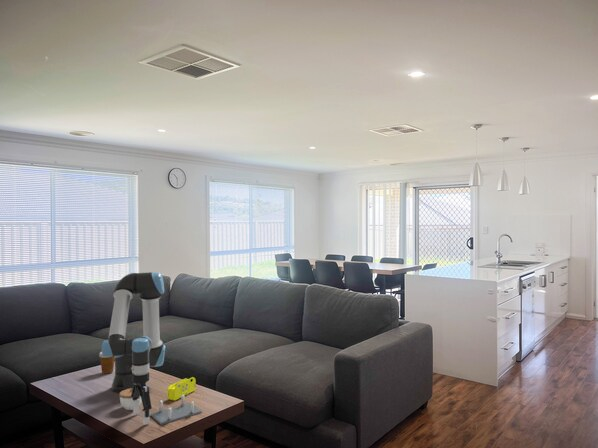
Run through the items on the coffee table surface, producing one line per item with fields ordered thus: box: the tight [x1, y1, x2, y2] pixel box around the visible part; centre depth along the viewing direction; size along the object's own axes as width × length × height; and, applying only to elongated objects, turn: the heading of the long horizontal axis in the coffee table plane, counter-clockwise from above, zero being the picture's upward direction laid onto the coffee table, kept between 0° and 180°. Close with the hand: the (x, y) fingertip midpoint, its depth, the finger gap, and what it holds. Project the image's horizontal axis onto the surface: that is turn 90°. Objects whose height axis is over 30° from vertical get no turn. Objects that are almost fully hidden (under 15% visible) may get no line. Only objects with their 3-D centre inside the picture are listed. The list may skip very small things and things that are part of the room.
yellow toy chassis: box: [166, 376, 197, 401], centre depth 237 cm, size 16×6×8 cm, turn 153°
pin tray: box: [150, 395, 203, 426], centre depth 213 cm, size 13×20×6 cm, turn 128°
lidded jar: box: [119, 388, 142, 411], centre depth 222 cm, size 11×11×9 cm
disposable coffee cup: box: [98, 351, 115, 374], centre depth 275 cm, size 10×10×12 cm
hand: (141, 418), depth 208 cm, fingers open, 13 cm apart
